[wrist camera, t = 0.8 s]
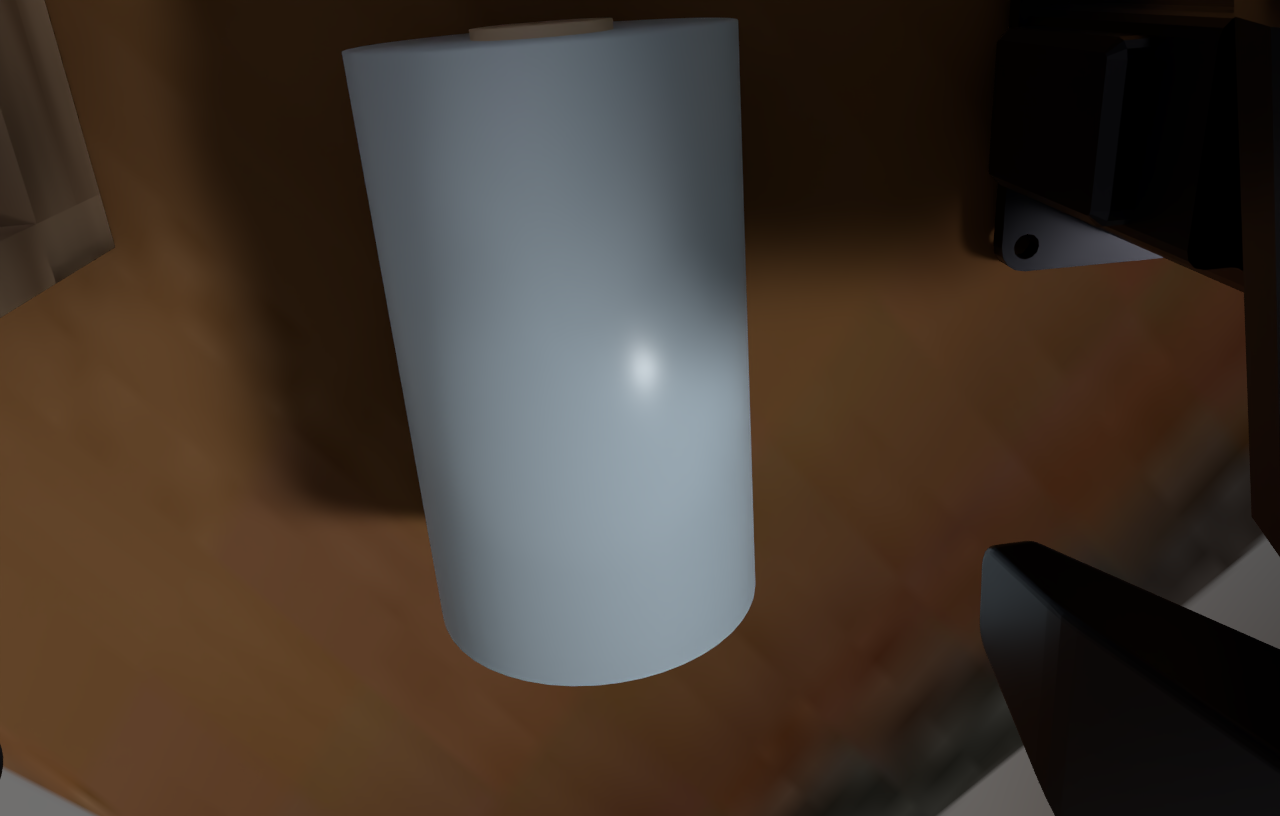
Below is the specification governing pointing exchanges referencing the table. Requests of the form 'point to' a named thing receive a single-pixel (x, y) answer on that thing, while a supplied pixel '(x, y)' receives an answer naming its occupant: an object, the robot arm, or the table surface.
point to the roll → (570, 332)
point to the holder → (41, 163)
